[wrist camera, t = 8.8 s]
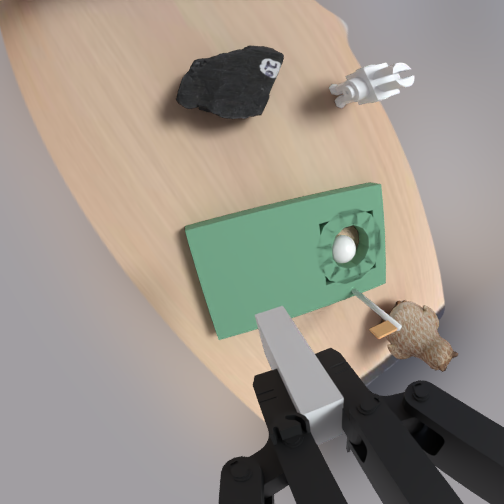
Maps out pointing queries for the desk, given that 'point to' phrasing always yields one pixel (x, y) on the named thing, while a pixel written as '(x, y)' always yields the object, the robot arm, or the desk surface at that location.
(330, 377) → the robot arm
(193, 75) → the rock
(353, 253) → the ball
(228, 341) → the desk surface
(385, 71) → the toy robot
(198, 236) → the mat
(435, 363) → the figurine
